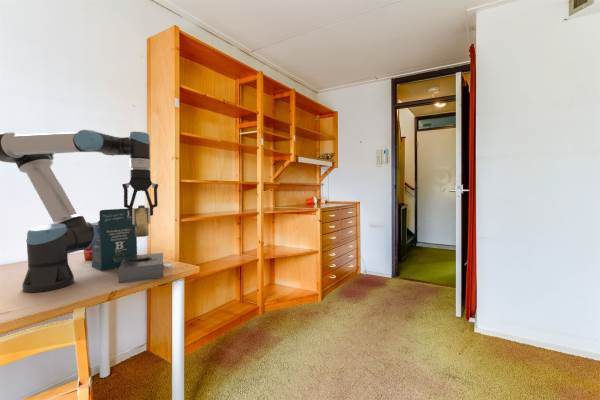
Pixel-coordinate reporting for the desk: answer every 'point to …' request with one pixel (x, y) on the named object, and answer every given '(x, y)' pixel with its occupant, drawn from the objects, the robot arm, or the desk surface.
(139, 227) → the tan upright cylinder
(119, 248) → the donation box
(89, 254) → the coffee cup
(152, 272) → the housing
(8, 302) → the desk surface
